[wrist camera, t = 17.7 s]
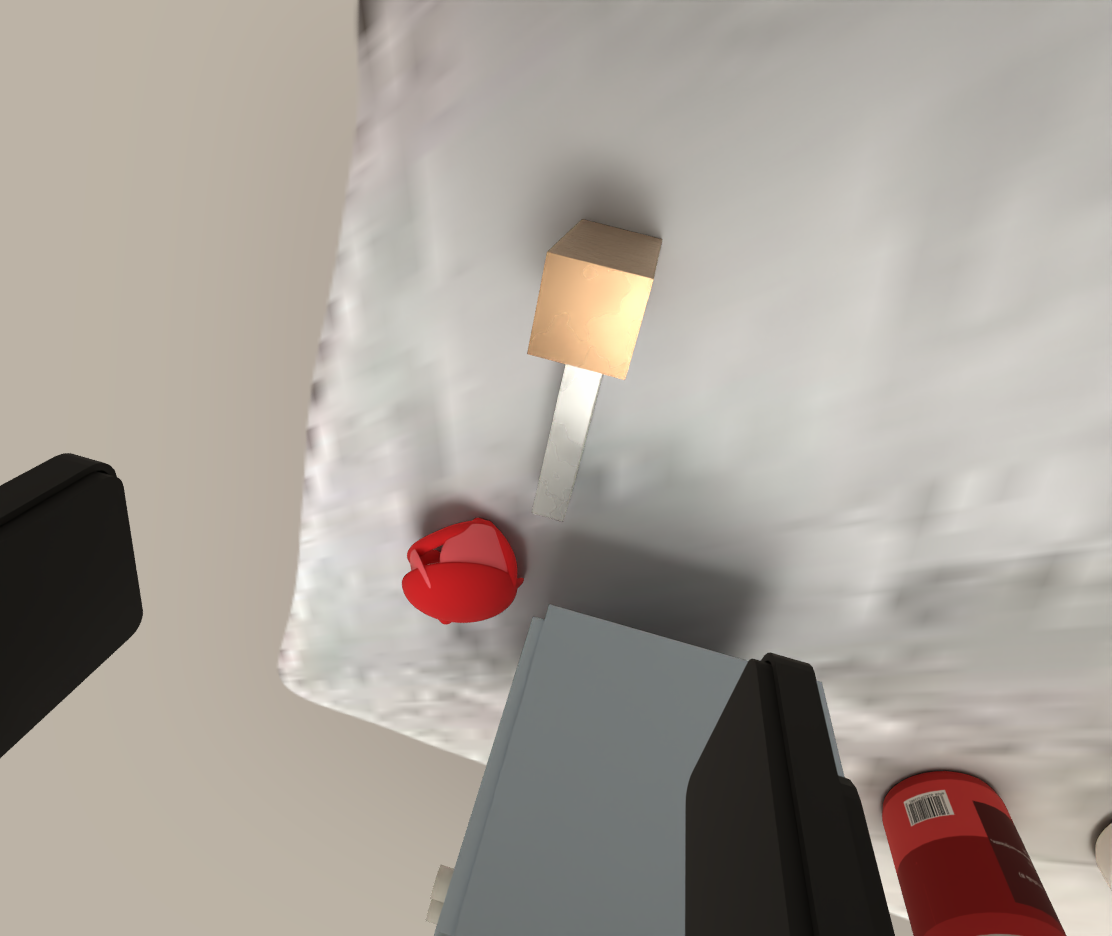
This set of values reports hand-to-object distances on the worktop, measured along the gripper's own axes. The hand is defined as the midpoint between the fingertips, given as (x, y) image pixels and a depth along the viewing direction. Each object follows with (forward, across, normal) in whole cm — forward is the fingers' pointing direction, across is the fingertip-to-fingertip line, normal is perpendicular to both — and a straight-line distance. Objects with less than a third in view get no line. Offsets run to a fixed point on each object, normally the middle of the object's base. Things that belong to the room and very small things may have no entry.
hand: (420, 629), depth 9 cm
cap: (+27, +4, +19) cm, 33 cm away
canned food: (+26, -32, +30) cm, 51 cm away
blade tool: (+26, 0, +5) cm, 27 cm away
